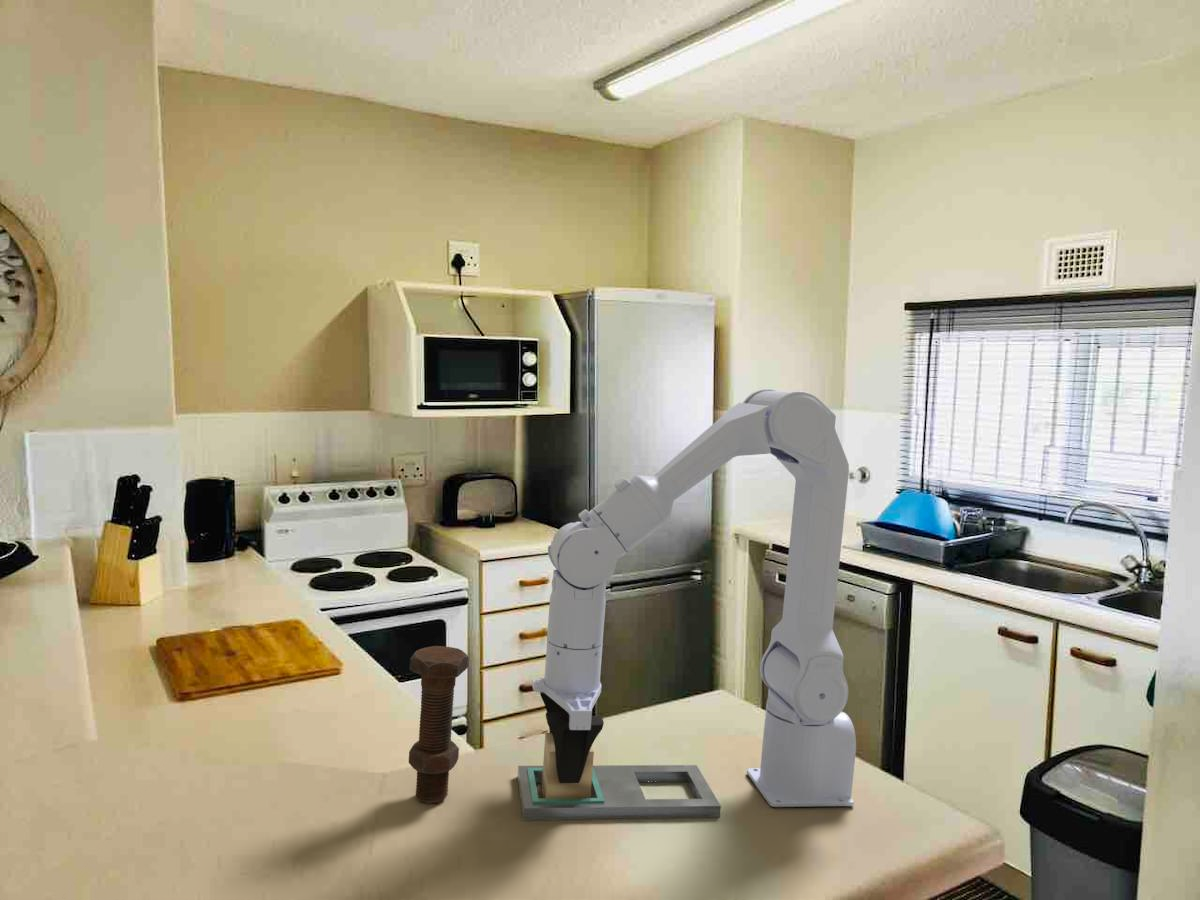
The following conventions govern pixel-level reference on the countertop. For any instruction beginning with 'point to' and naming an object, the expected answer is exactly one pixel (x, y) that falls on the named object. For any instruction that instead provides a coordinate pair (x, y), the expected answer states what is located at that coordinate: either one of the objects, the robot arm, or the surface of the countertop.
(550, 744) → the oak block
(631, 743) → the countertop surface
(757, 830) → the countertop surface
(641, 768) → the grey peg insertion board
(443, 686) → the bolt
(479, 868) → the countertop surface
